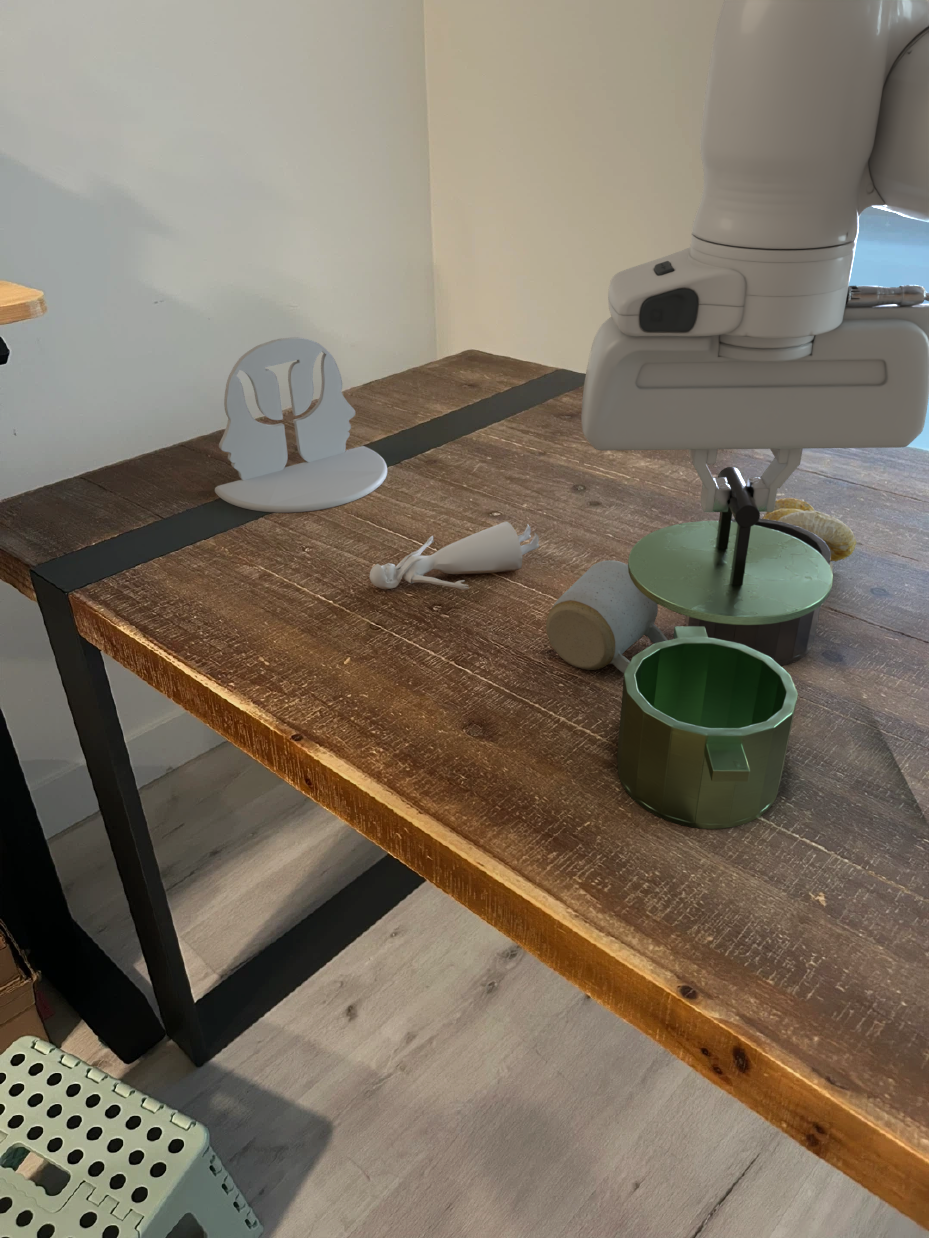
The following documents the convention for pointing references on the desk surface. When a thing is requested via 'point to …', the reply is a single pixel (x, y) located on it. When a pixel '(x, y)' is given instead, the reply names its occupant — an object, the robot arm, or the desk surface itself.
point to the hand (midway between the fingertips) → (735, 508)
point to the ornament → (318, 434)
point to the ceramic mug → (601, 618)
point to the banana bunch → (816, 525)
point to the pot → (704, 730)
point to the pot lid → (730, 567)
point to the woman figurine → (460, 558)
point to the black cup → (778, 638)
